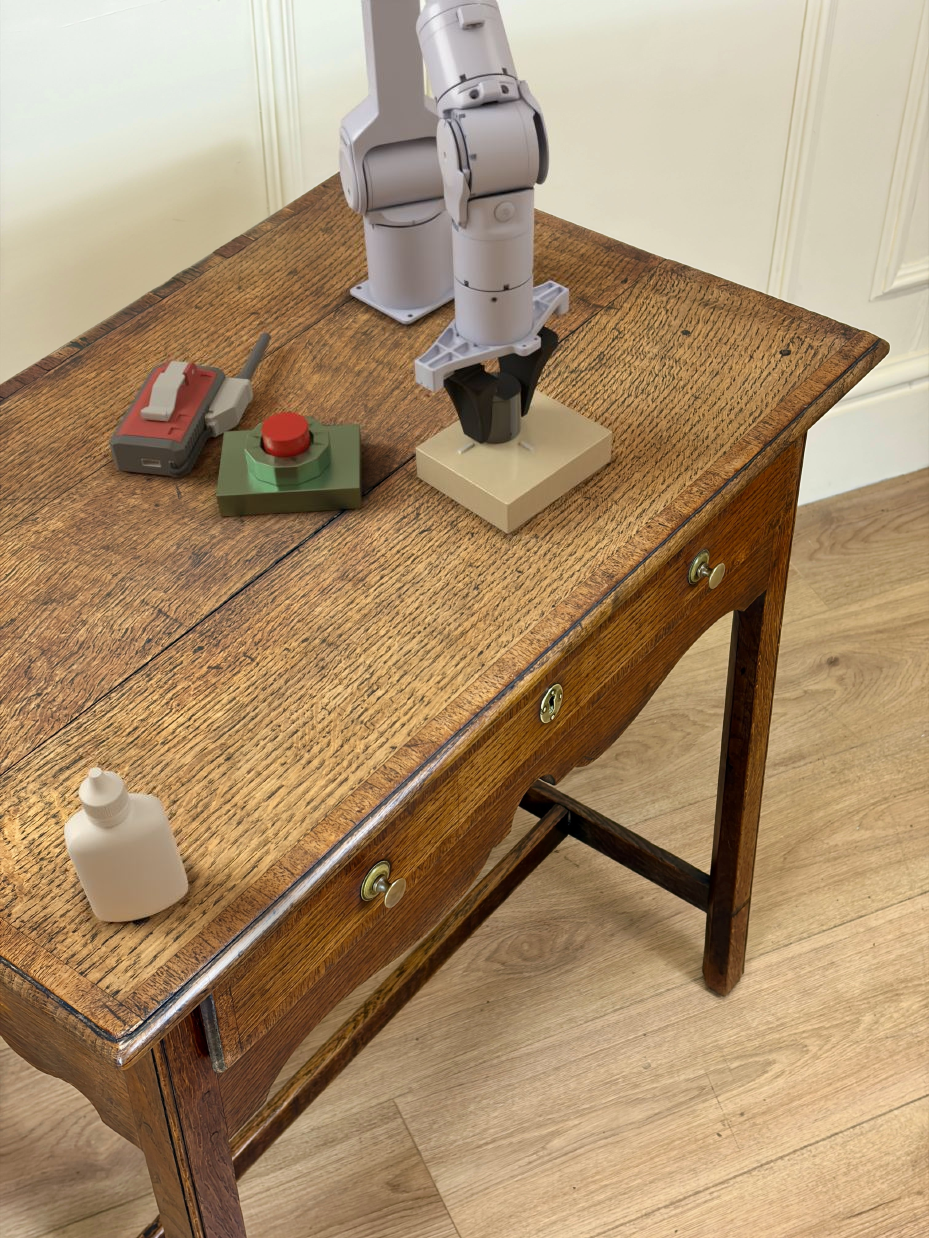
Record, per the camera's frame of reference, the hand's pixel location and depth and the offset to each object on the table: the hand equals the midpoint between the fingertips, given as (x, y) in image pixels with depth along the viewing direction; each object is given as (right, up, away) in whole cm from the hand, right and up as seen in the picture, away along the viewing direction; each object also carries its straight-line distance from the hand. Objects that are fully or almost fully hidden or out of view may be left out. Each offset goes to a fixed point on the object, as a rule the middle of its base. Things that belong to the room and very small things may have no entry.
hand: (495, 423), depth 103 cm
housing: (-16, -4, +1) cm, 17 cm away
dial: (0, 0, 0) cm, 0 cm away
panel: (+2, -3, +2) cm, 4 cm away
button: (-16, -2, -1) cm, 16 cm away
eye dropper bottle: (-22, -32, -25) cm, 46 cm away
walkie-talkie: (-25, +2, +8) cm, 27 cm away
